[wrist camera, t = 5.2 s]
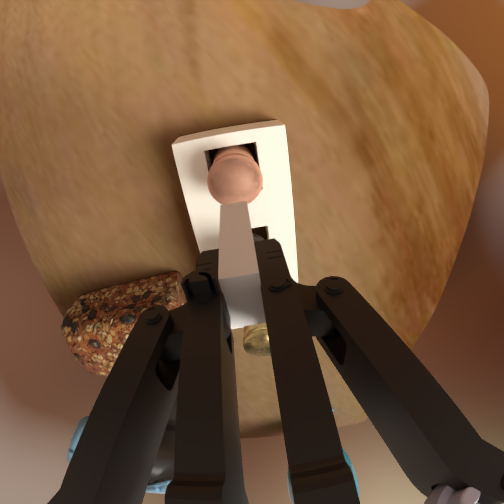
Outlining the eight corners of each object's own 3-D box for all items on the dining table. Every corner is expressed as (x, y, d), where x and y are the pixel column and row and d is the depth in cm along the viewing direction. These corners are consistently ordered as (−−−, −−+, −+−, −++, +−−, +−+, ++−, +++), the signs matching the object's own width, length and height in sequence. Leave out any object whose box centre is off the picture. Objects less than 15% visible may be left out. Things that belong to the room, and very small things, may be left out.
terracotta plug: (215, 186, 28) (213, 211, 23) (207, 145, 25) (202, 161, 20) (258, 179, 28) (265, 202, 23) (252, 137, 25) (258, 151, 20)
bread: (107, 335, 42) (93, 383, 33) (73, 289, 36) (48, 339, 27) (208, 319, 41) (206, 376, 32) (181, 264, 35) (171, 323, 26)
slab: (224, 308, 39) (224, 330, 36) (178, 136, 26) (171, 144, 22) (293, 297, 39) (299, 317, 36) (277, 119, 26) (285, 124, 22)
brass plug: (243, 321, 35) (246, 358, 30) (237, 297, 32) (240, 335, 28) (278, 316, 35) (285, 352, 30) (275, 291, 32) (283, 328, 28)
